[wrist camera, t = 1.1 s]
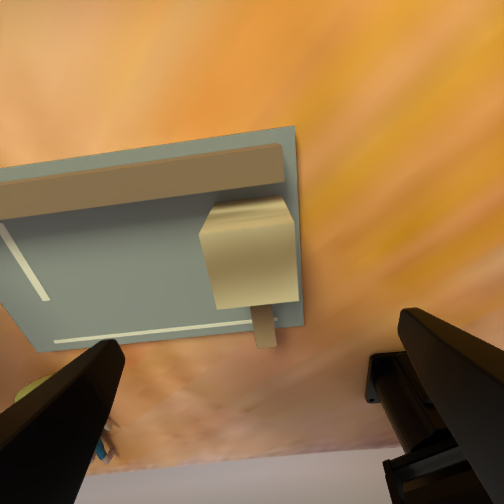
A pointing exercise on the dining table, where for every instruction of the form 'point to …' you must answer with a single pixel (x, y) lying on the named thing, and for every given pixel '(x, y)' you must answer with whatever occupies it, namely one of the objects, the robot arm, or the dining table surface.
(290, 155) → the board
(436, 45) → the dining table surface
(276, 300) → the wooden block with peg
